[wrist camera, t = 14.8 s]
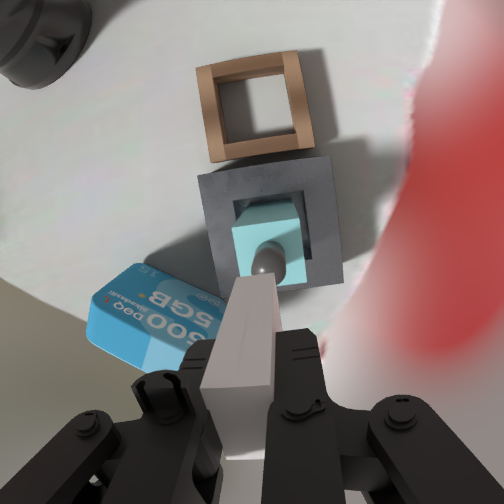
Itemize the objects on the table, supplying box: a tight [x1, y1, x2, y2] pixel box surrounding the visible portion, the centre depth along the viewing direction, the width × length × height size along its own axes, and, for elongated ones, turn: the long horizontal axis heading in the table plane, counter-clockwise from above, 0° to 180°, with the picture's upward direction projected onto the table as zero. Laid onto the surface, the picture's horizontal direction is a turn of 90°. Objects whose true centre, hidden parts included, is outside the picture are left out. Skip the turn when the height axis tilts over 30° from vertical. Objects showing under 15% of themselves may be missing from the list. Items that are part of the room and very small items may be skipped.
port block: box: [197, 156, 344, 298], centre depth 31 cm, size 12×12×5 cm
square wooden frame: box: [196, 50, 315, 163], centre depth 29 cm, size 10×10×3 cm
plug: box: [232, 198, 307, 286], centre depth 25 cm, size 4×4×15 cm
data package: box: [86, 263, 227, 373], centre depth 31 cm, size 12×4×12 cm, turn 66°
